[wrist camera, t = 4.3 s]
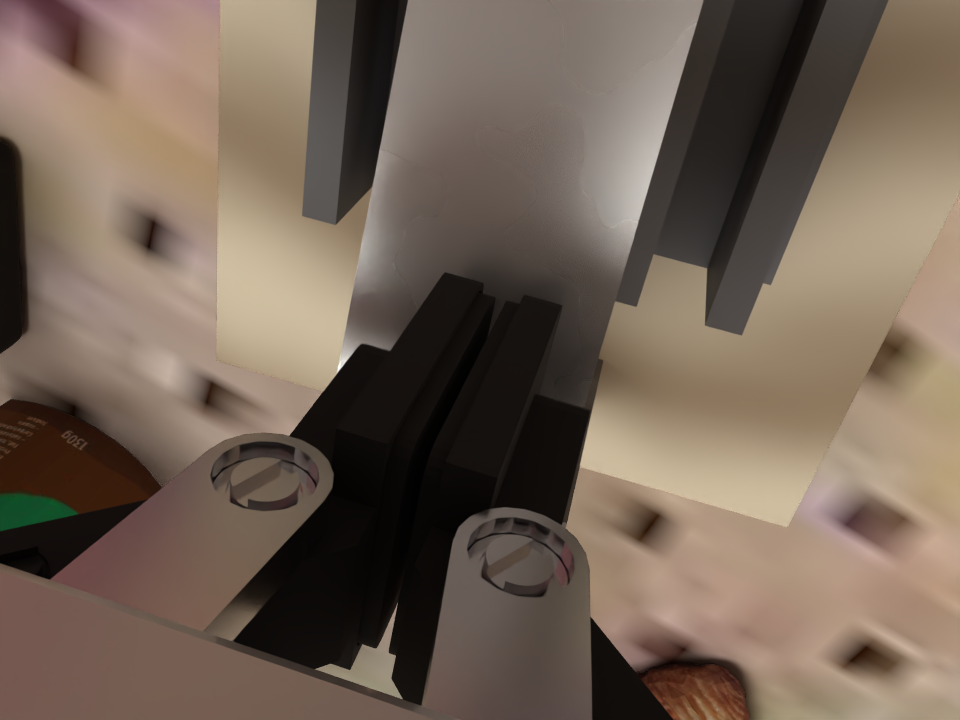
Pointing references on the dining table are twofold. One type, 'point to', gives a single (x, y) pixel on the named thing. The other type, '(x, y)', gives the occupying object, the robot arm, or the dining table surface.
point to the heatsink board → (660, 231)
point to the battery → (9, 254)
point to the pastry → (697, 692)
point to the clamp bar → (519, 163)
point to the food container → (61, 467)
